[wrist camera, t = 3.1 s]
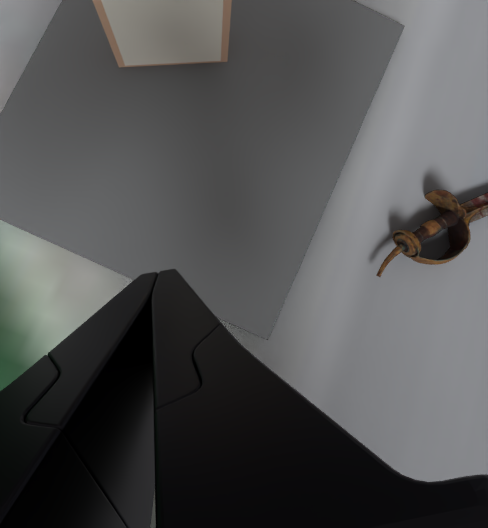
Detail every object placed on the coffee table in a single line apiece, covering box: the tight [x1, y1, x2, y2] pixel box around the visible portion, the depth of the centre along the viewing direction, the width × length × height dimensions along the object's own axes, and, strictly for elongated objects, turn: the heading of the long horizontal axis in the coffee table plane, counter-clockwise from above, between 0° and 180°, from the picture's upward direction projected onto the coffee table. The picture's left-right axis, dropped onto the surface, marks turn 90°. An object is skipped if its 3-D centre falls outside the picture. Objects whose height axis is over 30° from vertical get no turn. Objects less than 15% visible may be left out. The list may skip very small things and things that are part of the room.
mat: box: [0, 0, 404, 340], centre depth 23 cm, size 18×20×1 cm
